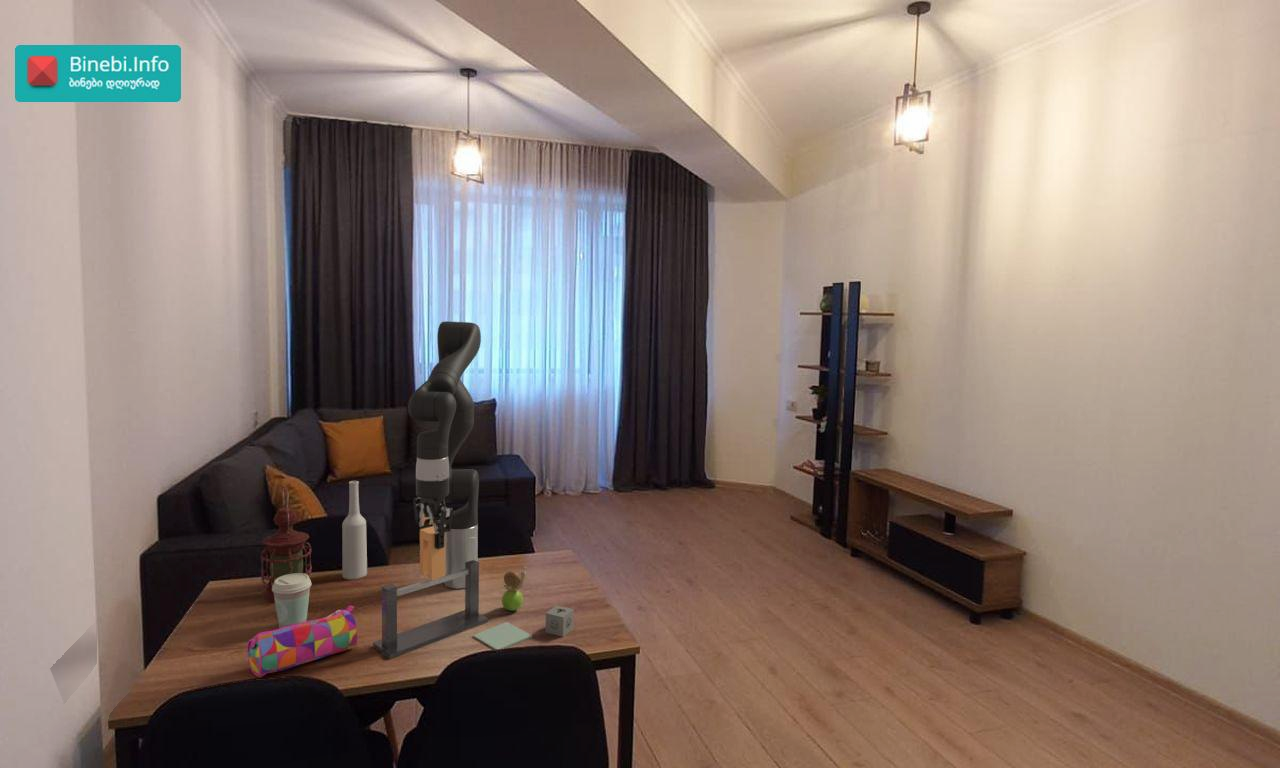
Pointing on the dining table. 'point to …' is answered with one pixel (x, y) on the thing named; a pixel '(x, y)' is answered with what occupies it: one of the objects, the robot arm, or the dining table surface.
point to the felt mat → (502, 636)
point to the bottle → (354, 538)
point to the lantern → (284, 549)
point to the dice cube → (559, 620)
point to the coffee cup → (291, 598)
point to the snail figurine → (513, 590)
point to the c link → (431, 555)
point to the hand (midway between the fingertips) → (432, 544)
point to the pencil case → (302, 642)
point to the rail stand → (436, 629)
